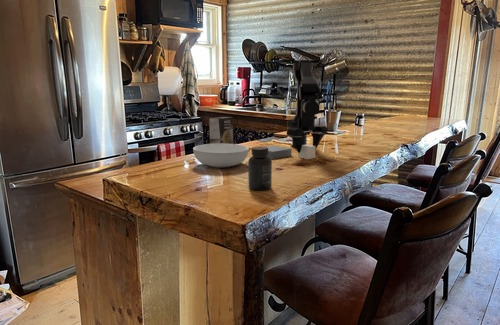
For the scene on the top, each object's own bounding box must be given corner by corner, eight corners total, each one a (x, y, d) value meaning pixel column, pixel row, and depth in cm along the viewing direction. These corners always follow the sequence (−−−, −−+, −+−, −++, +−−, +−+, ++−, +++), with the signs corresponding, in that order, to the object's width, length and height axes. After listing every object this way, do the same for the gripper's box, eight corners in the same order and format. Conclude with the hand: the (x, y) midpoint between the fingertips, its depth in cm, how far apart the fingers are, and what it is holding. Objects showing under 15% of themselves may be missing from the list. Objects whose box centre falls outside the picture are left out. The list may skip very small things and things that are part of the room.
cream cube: (306, 156, 155) (306, 144, 153) (315, 157, 151) (315, 146, 150) (298, 157, 152) (298, 145, 150) (306, 159, 148) (307, 147, 147)
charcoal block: (274, 152, 163) (274, 145, 162) (291, 156, 155) (291, 148, 154) (255, 155, 157) (255, 148, 156) (272, 160, 148) (272, 151, 147)
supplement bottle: (271, 184, 110) (271, 146, 108) (271, 191, 104) (272, 150, 101) (248, 184, 111) (248, 146, 108) (247, 191, 104) (247, 150, 101)
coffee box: (221, 156, 153) (220, 118, 150) (209, 155, 156) (208, 117, 153) (233, 153, 161) (233, 116, 157) (222, 151, 164) (221, 116, 160)
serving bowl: (242, 173, 125) (242, 153, 124) (185, 170, 129) (184, 151, 128) (253, 160, 145) (253, 143, 144) (204, 158, 149) (203, 142, 148)
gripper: (309, 111, 159) (308, 146, 162) (277, 113, 148) (277, 151, 151) (329, 113, 150) (327, 149, 154) (297, 115, 139) (296, 155, 143)
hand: (306, 151), depth 151 cm, fingers open, 9 cm apart
